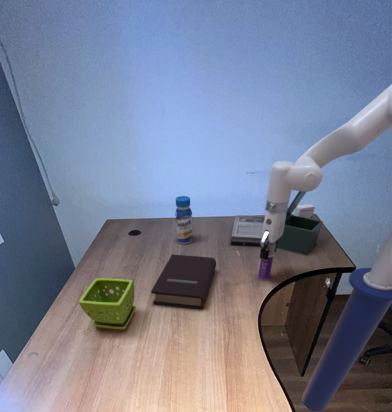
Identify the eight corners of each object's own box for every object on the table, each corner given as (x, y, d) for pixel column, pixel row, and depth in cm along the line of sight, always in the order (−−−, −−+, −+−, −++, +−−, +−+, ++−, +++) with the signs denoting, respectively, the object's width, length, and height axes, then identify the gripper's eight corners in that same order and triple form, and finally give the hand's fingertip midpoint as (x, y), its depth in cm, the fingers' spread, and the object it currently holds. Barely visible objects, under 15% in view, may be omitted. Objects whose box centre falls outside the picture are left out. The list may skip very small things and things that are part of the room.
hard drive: (230, 245, 132) (231, 236, 129) (235, 223, 150) (235, 215, 147) (268, 247, 129) (269, 238, 126) (268, 225, 147) (269, 216, 144)
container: (258, 280, 109) (264, 244, 98) (258, 274, 112) (263, 239, 102) (269, 280, 109) (276, 245, 98) (269, 274, 112) (276, 239, 101)
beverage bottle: (194, 237, 139) (193, 195, 124) (192, 244, 133) (190, 201, 119) (178, 236, 140) (175, 194, 125) (175, 244, 134) (171, 201, 120)
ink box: (304, 226, 145) (310, 203, 136) (309, 230, 141) (315, 206, 133) (290, 228, 143) (295, 205, 135) (294, 232, 140) (300, 208, 131)
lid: (314, 180, 115) (305, 173, 115) (302, 189, 107) (293, 181, 108) (291, 214, 129) (283, 207, 129) (279, 223, 121) (271, 216, 122)
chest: (315, 243, 130) (322, 221, 122) (306, 255, 123) (312, 231, 115) (285, 236, 137) (290, 214, 129) (274, 246, 129) (279, 224, 121)
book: (204, 310, 97) (204, 296, 92) (153, 304, 100) (151, 291, 95) (216, 270, 115) (216, 257, 111) (173, 266, 118) (171, 254, 114)
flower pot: (105, 306, 99) (95, 276, 90) (141, 309, 98) (134, 279, 88) (89, 331, 90) (76, 301, 81) (128, 335, 88) (119, 304, 79)
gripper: (276, 216, 84) (267, 267, 97) (296, 200, 94) (285, 248, 107) (255, 211, 87) (248, 261, 100) (277, 196, 97) (268, 244, 110)
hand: (267, 254), depth 103 cm, fingers open, 6 cm apart
